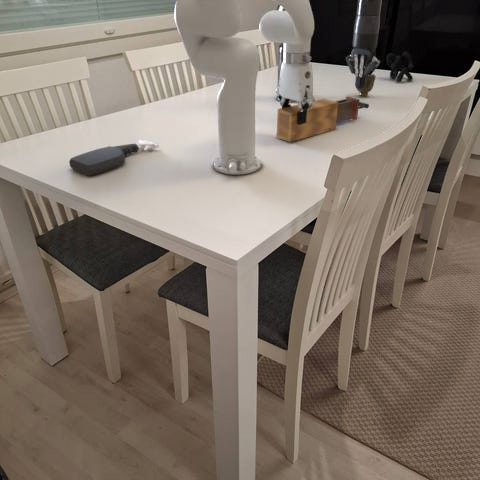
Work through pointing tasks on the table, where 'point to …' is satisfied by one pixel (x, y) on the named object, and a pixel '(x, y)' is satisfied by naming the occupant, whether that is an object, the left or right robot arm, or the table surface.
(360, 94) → the cup
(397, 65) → the squiggle
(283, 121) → the cabinet
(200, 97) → the table surface
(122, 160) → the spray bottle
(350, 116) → the drawer
